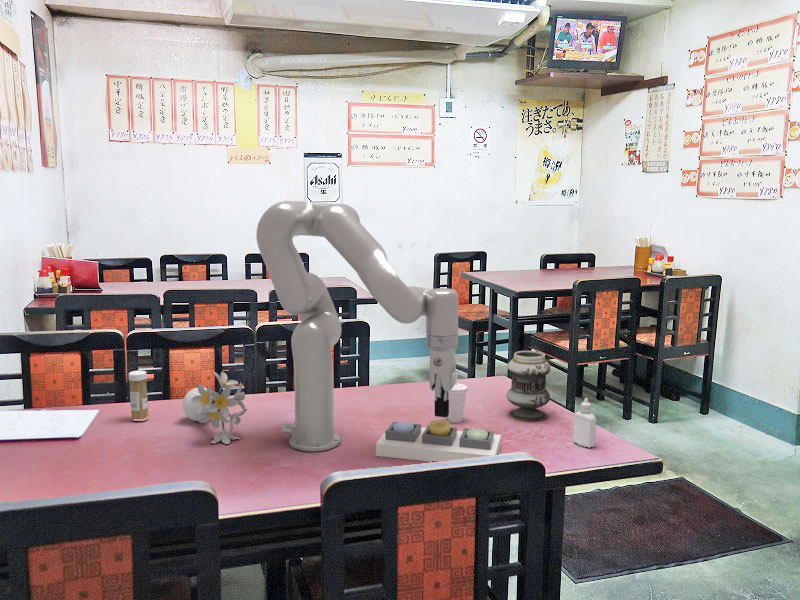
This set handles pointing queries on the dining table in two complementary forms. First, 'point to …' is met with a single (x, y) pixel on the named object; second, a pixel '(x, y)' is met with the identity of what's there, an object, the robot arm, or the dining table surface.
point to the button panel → (435, 445)
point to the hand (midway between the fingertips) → (441, 415)
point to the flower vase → (215, 406)
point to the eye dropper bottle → (584, 426)
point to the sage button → (477, 434)
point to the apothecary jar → (528, 385)
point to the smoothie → (457, 402)
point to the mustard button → (439, 428)
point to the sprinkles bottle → (138, 394)
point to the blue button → (403, 427)
